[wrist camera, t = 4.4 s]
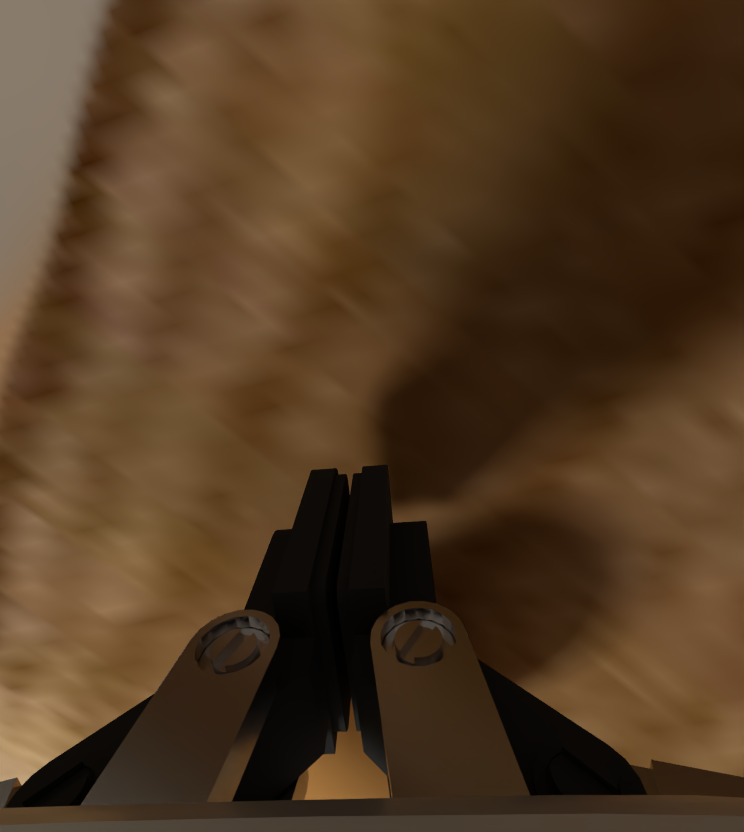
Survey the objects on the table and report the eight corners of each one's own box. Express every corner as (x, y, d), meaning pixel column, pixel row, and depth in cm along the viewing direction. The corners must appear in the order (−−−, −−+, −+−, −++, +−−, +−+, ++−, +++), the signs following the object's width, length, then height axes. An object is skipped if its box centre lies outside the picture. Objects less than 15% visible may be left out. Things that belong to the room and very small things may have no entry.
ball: (274, 591, 14) (192, 845, 8) (494, 571, 13) (569, 827, 8) (313, 743, 16) (270, 1028, 10) (504, 730, 15) (570, 1023, 10)
